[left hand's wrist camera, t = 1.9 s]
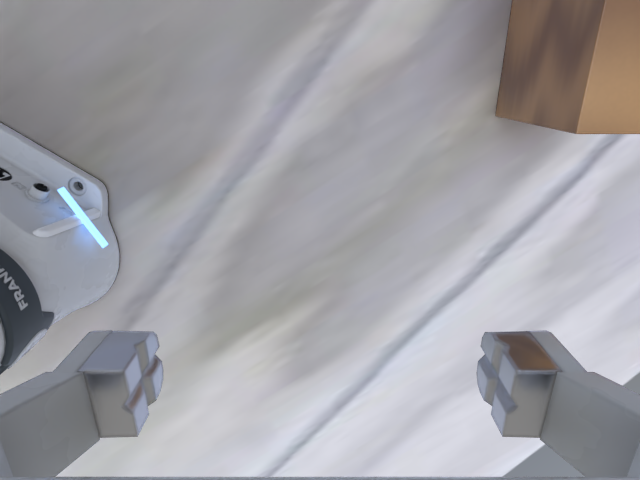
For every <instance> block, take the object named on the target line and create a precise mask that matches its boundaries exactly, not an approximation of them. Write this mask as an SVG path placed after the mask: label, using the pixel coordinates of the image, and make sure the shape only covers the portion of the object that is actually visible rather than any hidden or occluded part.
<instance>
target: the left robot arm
mask: <svg viewBox="0 0 640 480" xmlns="http://www.w3.org/2000/svg"><path fill="white" fill-rule="evenodd" d="M78 182H80V183H81V184H82V185H83V189H82V188H80V187H79V186H78ZM118 269H119V248H118V243H117V239H116V236H115V234H114V231H113V229H112V226H111V224H110V221H109V217H108V193H107V189H106V187H105V185H104V184H103V183H102V182H101V181H100V180H98V179H96V178H95V177H93V176H91V175H90V174H88V173H86V172H84V171H83V170H81V169H79V168H78V167H76V166H74V165H72V164H71V163H69V162H67V161H66V160H64V159H62V158H60V157H59V156H57V155H55V154H54V153H52V152H50V151H49V150H47V149H45V148H43V147H42V146H40V145H38V144H37V143H35V142H33V141H31V140H30V139H28V138H26V137H25V136H23V135H21V134H19V133H18V132H16V131H14V130H13V129H11V128H9V127H7V126H6V125H4V124H2V123H1V122H0V374H1V373H2V372H4V371H5V370H6V369H9V368H10V367H12V366H13V365H14V364H15V363H16V362H17V361H18V360H19V359H21V358H22V357H23V356H24V355H25V354H26V353H27V352H28V351H29V350H30V349H31V348H32V347H33V346H34V345H35V344H36V343H37V342H38V341H39V340H40V339H41V338H42V337H43V336H44V335H45V334H46V332H47V330H48V329H49V327H50V326H51V325H53V324H54V323H56V322H57V321H59V320H60V319H61V318H63V317H65V316H66V315H68V314H70V313H71V312H73V311H75V310H77V309H79V308H82V307H84V306H87V305H90V304H92V303H94V302H95V301H97V300H99V299H100V298H101V297H102V296H104V295H105V294H106V293H107V292H108V290H109V289H110V288H111V286H112V285H113V283H114V281H115V279H116V276H117V273H118ZM158 348H159V342H158V337H157V335H156V334H155V333H154V332H149V331H92V332H89V333H88V334H87V335H86V336H85V337H84V338H83V339H82V341H81V342H80V343H79V344H78V345H77V346H76V347H75V348H74V349H73V350H72V351H71V353H70V354H69V355H68V356H67V357H66V358H65V359H64V360H63V361H62V362H61V363H60V365H59V366H58V367H57V368H56V369H55V370H54V371H53V372H45V373H43V374H41V375H39V376H37V377H35V378H33V379H31V380H29V381H27V382H25V383H22V384H20V385H18V386H16V387H14V388H12V389H10V390H8V391H6V392H4V393H2V394H0V480H640V394H638V393H636V392H634V391H632V390H630V389H628V388H626V387H624V386H622V385H620V384H617V383H615V382H613V381H611V380H609V379H607V378H605V377H603V376H601V375H599V374H597V373H595V372H587V371H586V370H585V369H584V368H583V367H582V366H581V365H580V363H579V362H578V361H577V360H576V359H575V358H574V357H573V356H572V355H571V354H570V353H569V351H568V350H567V349H566V348H565V347H564V346H563V345H562V344H561V343H560V342H559V341H558V339H557V338H556V337H555V336H554V335H553V334H552V333H551V332H549V331H546V330H543V331H521V332H485V333H484V335H483V337H482V342H481V348H482V350H483V351H484V353H485V355H484V356H483V357H482V358H481V359H480V360H479V361H478V366H477V383H478V387H479V391H480V393H481V395H482V397H483V400H484V401H486V402H487V403H489V404H490V405H491V406H492V411H491V415H492V417H493V419H494V421H495V423H496V425H497V427H498V429H499V431H500V433H501V435H502V437H533V438H540V440H541V441H543V442H544V443H545V444H546V445H547V446H549V447H550V448H551V449H552V450H553V451H555V452H556V453H557V454H558V455H559V456H561V457H562V458H563V459H564V460H566V461H567V462H568V463H569V464H570V465H572V466H573V467H574V468H575V469H577V470H578V471H579V472H580V473H581V474H582V475H584V476H585V477H55V476H56V475H58V474H59V473H60V472H61V471H63V470H64V469H65V468H66V467H67V466H69V465H70V464H71V463H72V462H73V461H75V460H76V459H77V458H78V457H79V456H81V455H82V454H83V453H84V452H86V451H87V450H88V449H89V448H90V447H92V446H93V445H94V444H95V443H96V442H98V441H99V440H100V438H106V437H138V435H139V433H140V431H141V429H142V427H143V425H144V423H145V421H146V419H147V417H148V415H149V411H148V406H149V405H150V404H151V403H153V402H154V401H156V400H157V397H158V395H159V393H160V391H161V387H162V382H163V365H162V361H161V360H160V359H159V358H158V357H157V356H156V355H155V353H156V351H157V350H158Z"/></svg>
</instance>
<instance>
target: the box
mask: <svg viewBox="0 0 640 480" xmlns="http://www.w3.org/2000/svg"><path fill="white" fill-rule="evenodd" d="M496 116H497V117H502V118H506V119H511V120H515V121H520V122H524V123H529V124H533V125H538V126H542V127H547V128H551V129H556V130H560V131H565V132H570V133H574V134H640V0H512V7H511V14H510V20H509V27H508V34H507V41H506V48H505V54H504V61H503V68H502V75H501V82H500V88H499V95H498V102H497V109H496Z"/></svg>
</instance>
